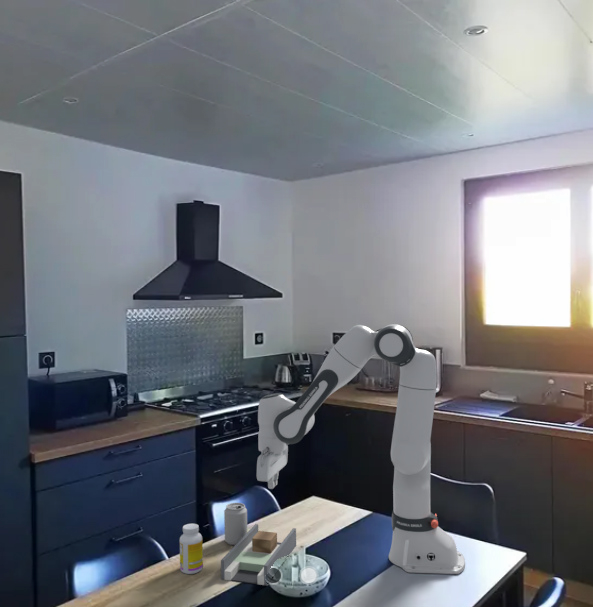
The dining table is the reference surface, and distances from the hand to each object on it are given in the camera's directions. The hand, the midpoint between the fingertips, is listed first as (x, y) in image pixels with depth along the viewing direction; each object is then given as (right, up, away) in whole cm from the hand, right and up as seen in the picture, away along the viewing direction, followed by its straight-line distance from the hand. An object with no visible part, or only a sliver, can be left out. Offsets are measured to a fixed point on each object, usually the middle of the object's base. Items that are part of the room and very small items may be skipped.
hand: (272, 486), depth 190 cm
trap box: (-3, -19, -11) cm, 22 cm away
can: (-12, -20, +4) cm, 23 cm away
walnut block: (-2, -17, -7) cm, 18 cm away
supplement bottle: (-23, -20, -16) cm, 34 cm away
